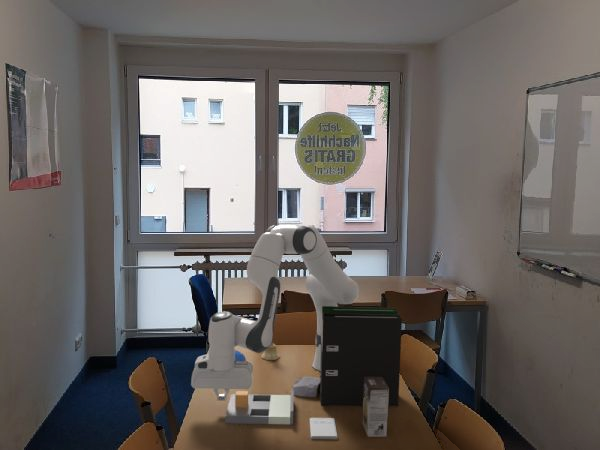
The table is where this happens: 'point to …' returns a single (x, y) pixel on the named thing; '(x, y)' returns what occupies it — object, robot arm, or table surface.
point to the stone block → (306, 386)
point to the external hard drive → (323, 428)
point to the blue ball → (239, 356)
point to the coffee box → (375, 406)
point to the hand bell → (270, 353)
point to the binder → (358, 353)
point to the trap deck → (262, 410)
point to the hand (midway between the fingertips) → (221, 400)
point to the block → (241, 399)
